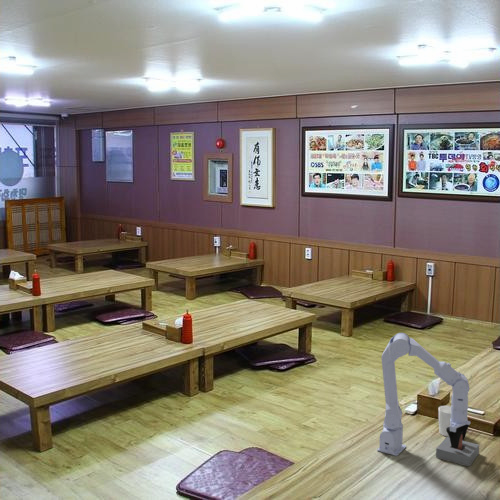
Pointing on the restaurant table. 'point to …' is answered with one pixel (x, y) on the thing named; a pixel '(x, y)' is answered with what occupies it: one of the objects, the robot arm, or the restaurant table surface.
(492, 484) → the restaurant table surface
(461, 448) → the pin
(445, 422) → the white cup
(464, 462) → the block
